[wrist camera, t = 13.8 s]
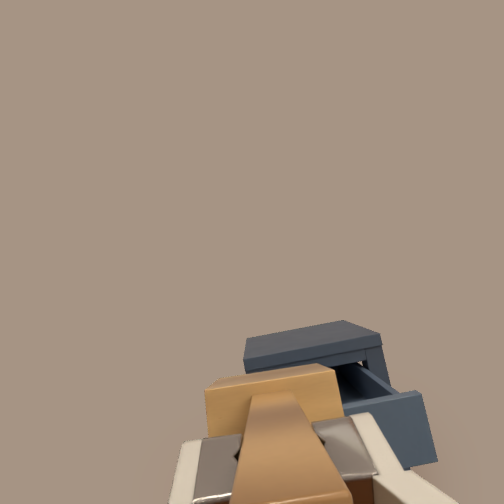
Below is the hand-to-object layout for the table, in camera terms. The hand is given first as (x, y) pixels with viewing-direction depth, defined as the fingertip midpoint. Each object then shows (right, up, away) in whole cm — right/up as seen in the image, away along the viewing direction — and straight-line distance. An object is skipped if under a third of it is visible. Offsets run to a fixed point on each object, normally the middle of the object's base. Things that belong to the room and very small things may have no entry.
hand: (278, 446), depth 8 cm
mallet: (+1, -6, +2) cm, 6 cm away
